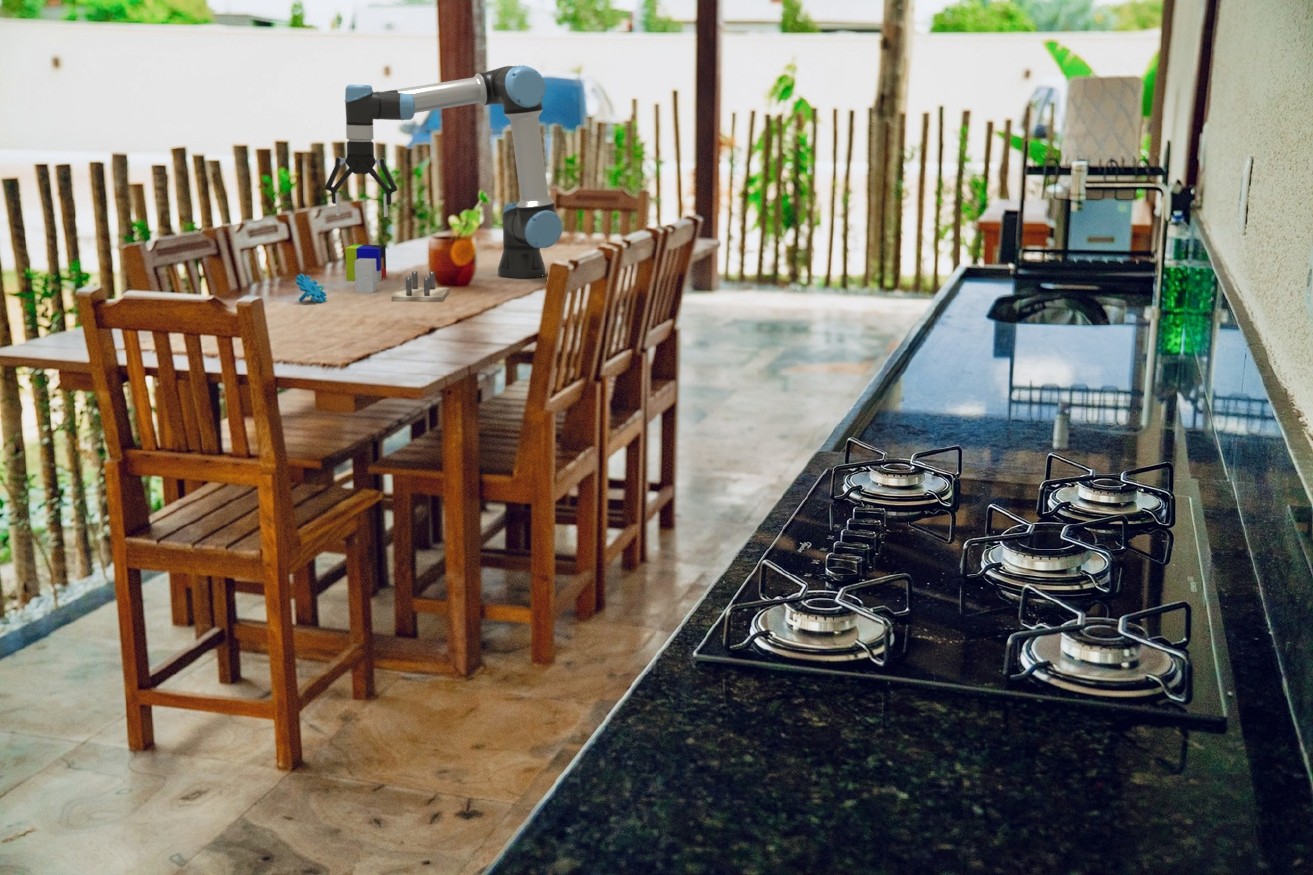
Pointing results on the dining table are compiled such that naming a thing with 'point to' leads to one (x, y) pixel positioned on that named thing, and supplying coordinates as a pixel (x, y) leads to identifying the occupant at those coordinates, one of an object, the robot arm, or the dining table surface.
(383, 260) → the puzzle toy
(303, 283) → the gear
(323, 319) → the dining table surface
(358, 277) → the jaw block
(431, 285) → the peg fixture base
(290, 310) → the dining table surface
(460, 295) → the dining table surface
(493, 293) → the dining table surface
